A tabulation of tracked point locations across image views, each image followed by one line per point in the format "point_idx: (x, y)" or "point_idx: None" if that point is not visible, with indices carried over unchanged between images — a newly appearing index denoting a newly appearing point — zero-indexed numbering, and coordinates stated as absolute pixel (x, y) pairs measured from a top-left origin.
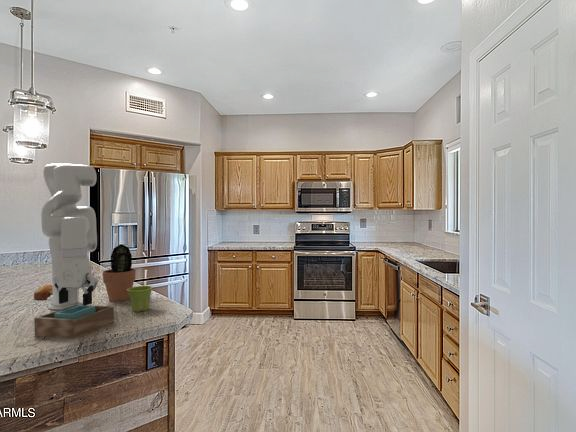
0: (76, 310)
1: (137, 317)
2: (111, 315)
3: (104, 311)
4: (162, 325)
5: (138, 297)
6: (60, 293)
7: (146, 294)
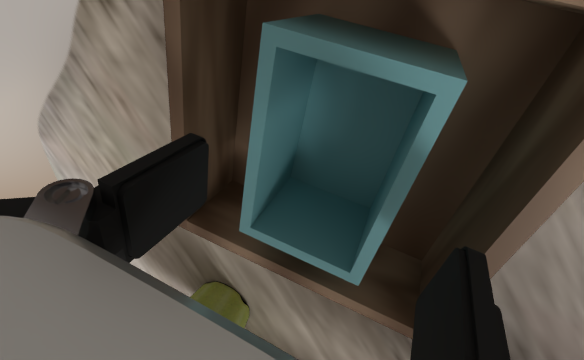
0: (364, 235)
1: None
2: None
3: None
4: (45, 104)
5: None
6: (470, 352)
7: None
